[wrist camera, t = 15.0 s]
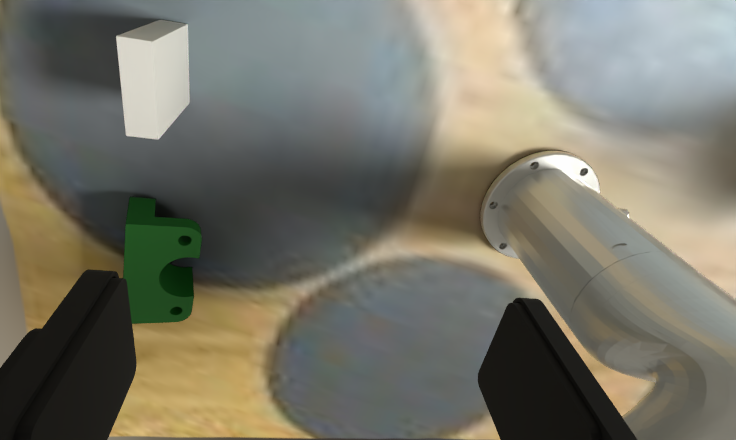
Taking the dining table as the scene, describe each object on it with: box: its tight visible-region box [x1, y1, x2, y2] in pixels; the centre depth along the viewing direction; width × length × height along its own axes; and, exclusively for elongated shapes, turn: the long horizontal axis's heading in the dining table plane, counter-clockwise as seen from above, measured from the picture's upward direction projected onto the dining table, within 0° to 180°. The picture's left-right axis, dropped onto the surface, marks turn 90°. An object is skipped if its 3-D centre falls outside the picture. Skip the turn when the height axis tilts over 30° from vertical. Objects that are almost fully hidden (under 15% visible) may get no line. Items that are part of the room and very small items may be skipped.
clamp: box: [123, 197, 202, 324], centre depth 41 cm, size 12×6×9 cm, turn 158°
